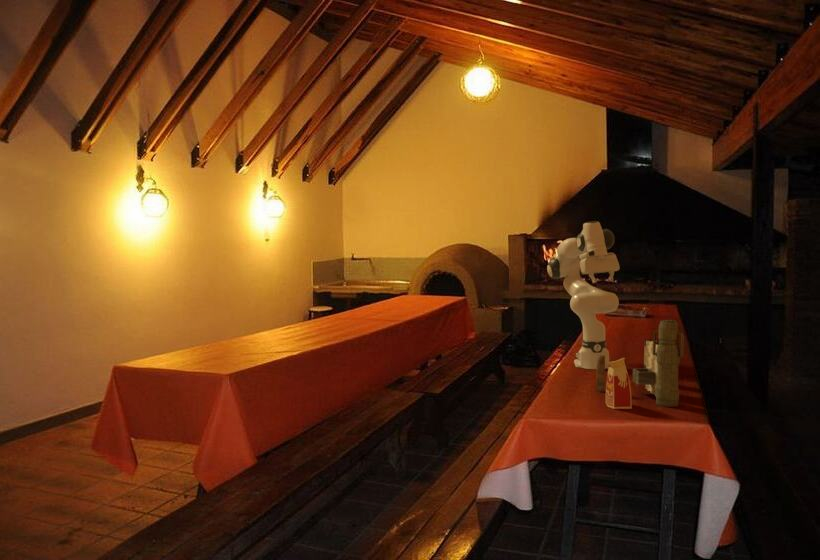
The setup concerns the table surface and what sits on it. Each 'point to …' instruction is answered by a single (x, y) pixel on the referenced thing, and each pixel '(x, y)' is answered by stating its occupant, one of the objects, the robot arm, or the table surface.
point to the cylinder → (600, 373)
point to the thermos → (668, 362)
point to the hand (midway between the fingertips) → (603, 281)
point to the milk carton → (618, 386)
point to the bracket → (648, 370)
